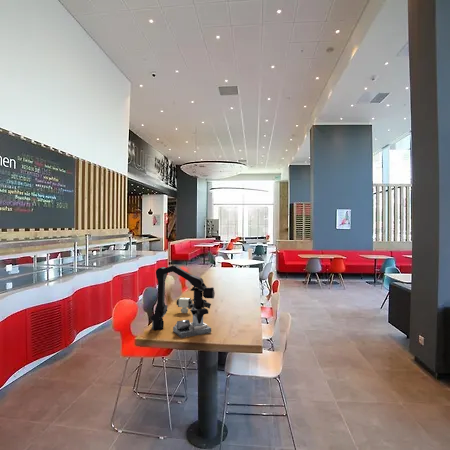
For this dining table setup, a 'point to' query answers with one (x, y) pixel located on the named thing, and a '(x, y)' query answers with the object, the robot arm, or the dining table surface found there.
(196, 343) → the dining table surface
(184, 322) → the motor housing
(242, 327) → the dining table surface
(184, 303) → the pneumatic valve
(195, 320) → the drain pump
